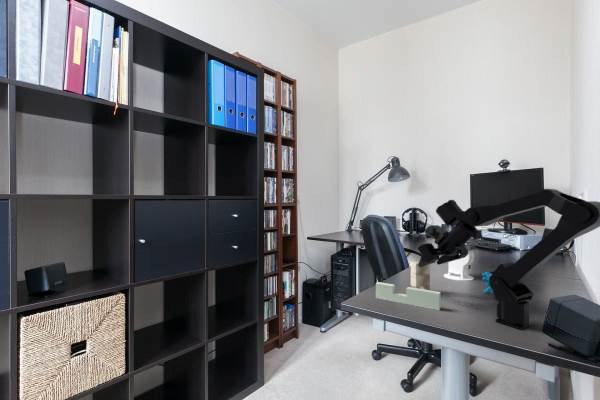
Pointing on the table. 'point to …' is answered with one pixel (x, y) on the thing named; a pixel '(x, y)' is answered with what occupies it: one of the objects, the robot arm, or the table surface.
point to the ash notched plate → (420, 276)
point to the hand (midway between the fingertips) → (428, 264)
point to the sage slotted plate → (409, 296)
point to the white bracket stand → (461, 266)
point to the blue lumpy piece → (486, 278)
